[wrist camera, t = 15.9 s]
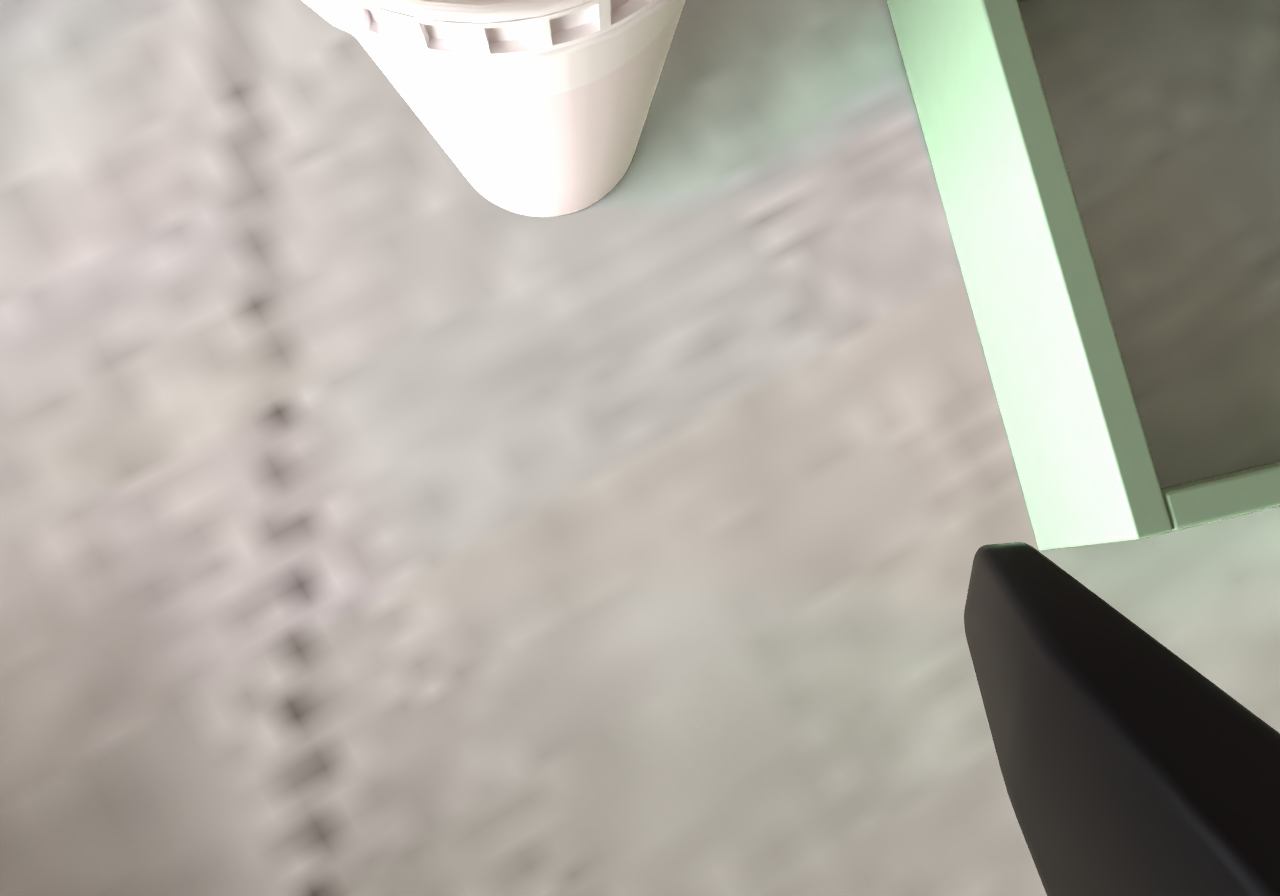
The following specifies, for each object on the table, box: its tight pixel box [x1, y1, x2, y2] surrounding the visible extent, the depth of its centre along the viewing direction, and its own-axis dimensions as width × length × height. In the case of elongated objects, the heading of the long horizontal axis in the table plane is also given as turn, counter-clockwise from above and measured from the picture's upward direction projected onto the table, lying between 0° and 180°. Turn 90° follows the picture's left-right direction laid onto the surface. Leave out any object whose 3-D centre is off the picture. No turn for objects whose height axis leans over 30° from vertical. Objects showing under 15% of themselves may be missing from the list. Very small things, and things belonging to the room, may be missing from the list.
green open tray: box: [887, 0, 1280, 550], centre depth 19 cm, size 11×10×4 cm
